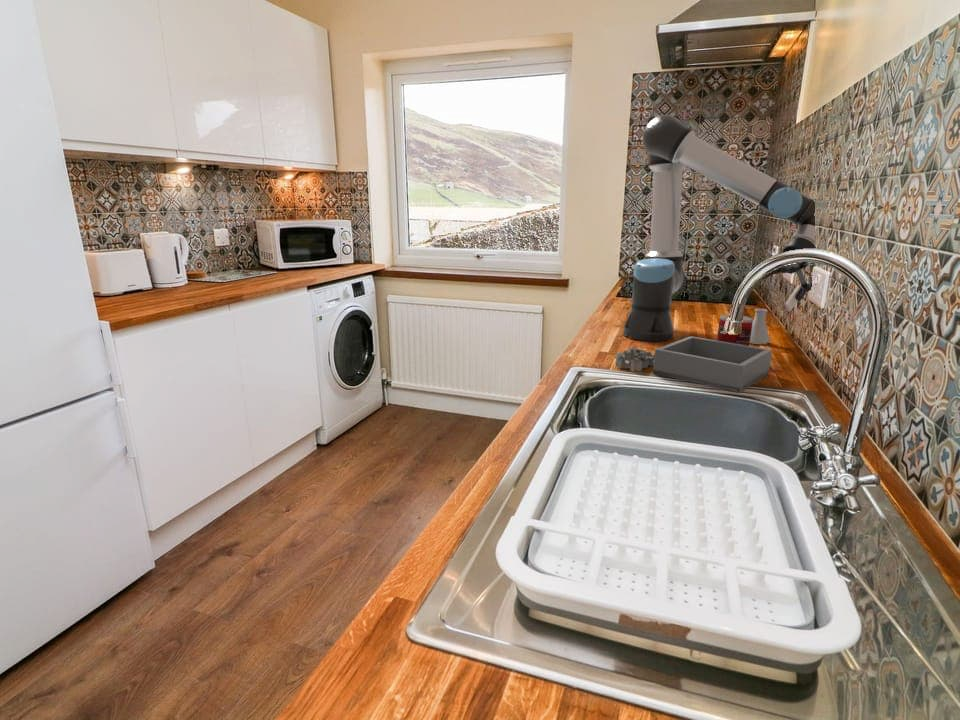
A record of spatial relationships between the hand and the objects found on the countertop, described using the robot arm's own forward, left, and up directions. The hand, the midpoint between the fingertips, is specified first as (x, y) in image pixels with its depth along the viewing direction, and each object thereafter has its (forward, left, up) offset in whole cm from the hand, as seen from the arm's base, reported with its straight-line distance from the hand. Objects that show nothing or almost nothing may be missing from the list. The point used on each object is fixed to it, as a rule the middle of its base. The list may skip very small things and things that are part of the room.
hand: (762, 304), depth 146 cm
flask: (-15, -4, -14) cm, 21 cm away
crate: (+28, -1, -14) cm, 32 cm away
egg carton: (+35, -18, -14) cm, 42 cm away
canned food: (+9, -3, -14) cm, 17 cm away
